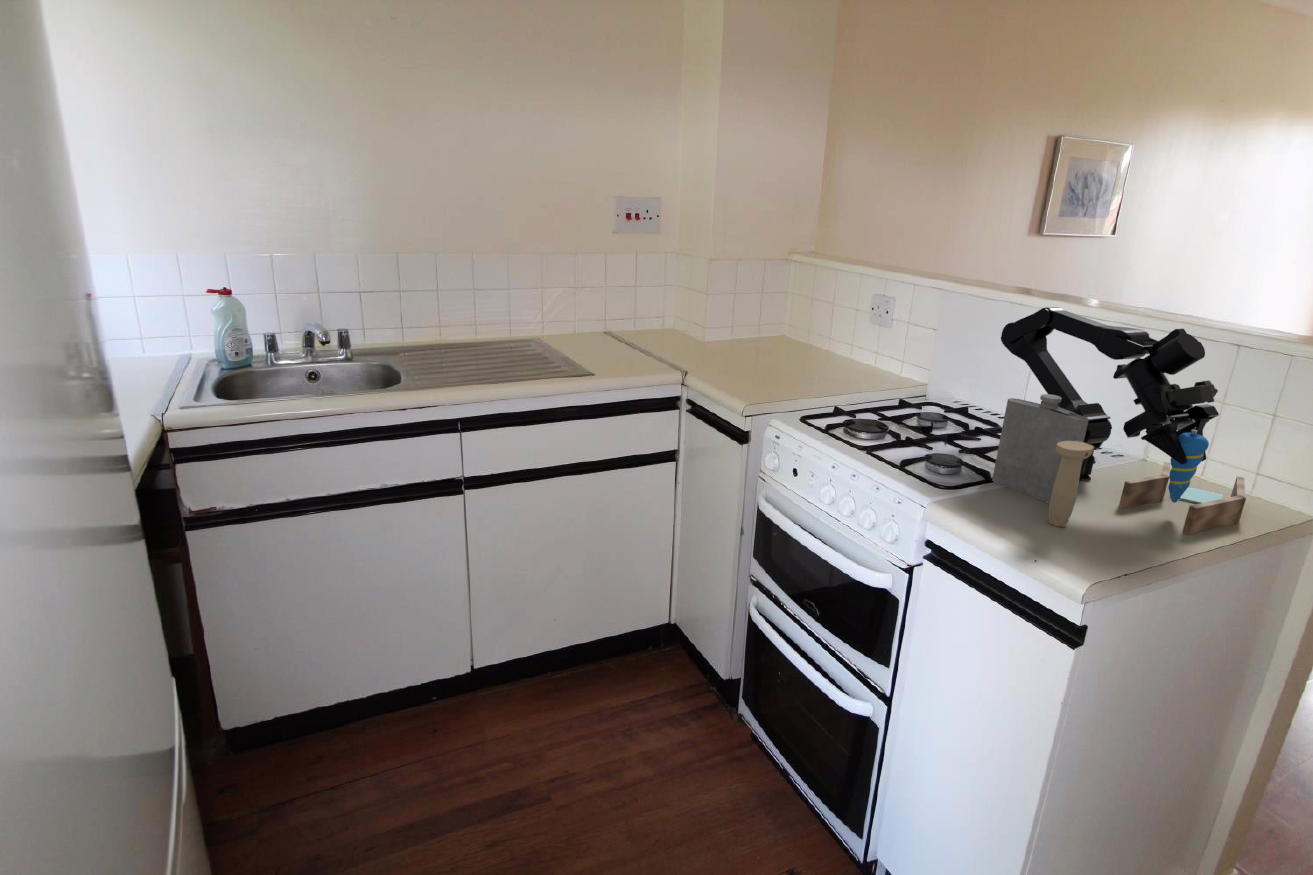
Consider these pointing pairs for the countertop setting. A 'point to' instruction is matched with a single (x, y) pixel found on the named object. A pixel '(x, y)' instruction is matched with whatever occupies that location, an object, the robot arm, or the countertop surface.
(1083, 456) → the handle
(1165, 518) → the countertop surface
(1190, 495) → the pad
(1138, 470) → the countertop surface
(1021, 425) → the hip flask
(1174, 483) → the ornament
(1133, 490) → the channel
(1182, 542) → the countertop surface
